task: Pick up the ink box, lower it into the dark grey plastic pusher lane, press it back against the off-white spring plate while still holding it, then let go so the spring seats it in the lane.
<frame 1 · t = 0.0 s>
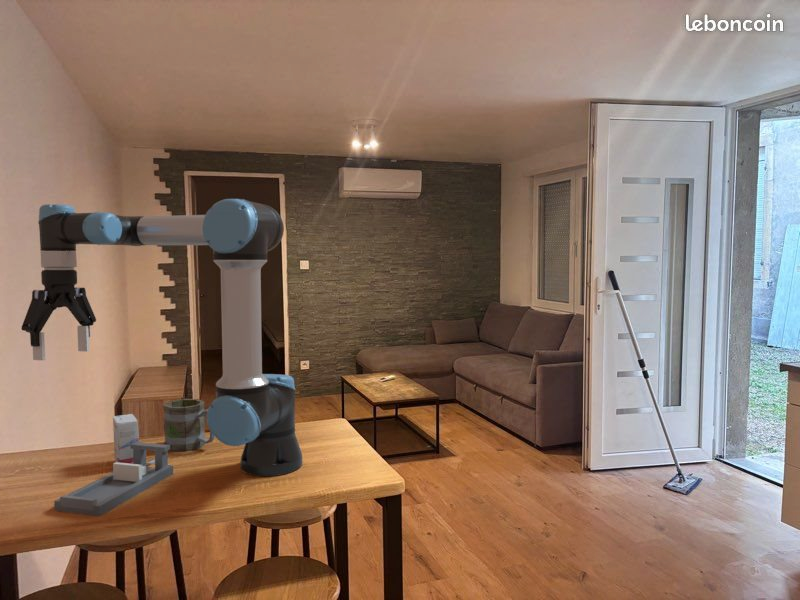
hand: (62, 355, 144), 28 cm above the table, fingers open, 13 cm apart
lane: (118, 490, 131), on the table
pusher: (143, 463, 139), point 3 cm above the table, slide at 0.0 cm
ink box: (127, 464, 148), on the table
mug: (192, 447, 161), on the table
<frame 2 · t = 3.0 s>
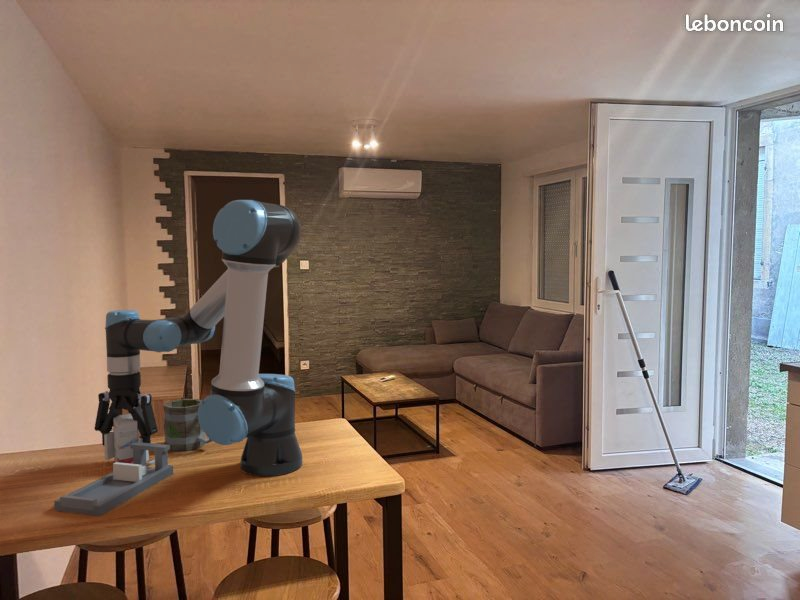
hand: (126, 459, 148), 1 cm above the table, fingers closed on ink box, 9 cm apart
ink box: (126, 464, 148), on the table, touching gripper
everything else where it was.
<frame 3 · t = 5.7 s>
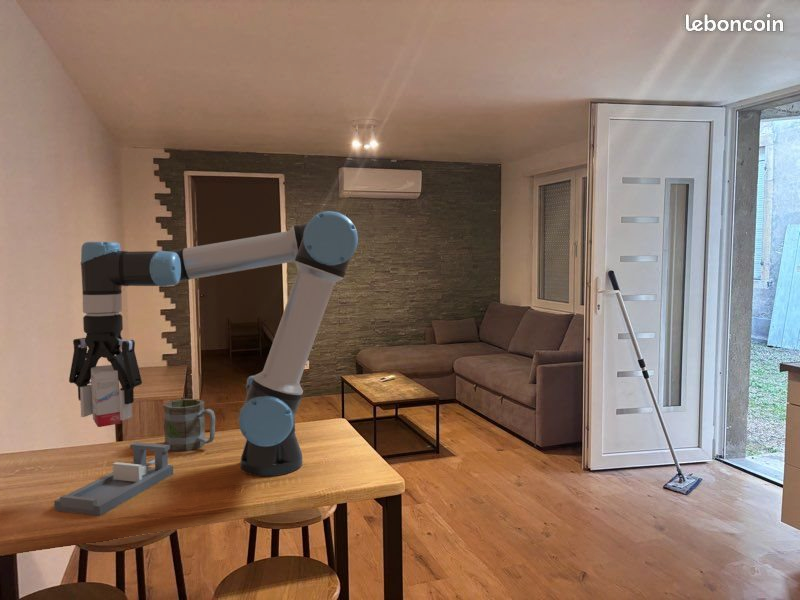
hand: (106, 416, 127), 17 cm above the table, fingers closed on ink box, 9 cm apart
ink box: (106, 422, 127), point 16 cm above the table, touching gripper
everything else where it was.
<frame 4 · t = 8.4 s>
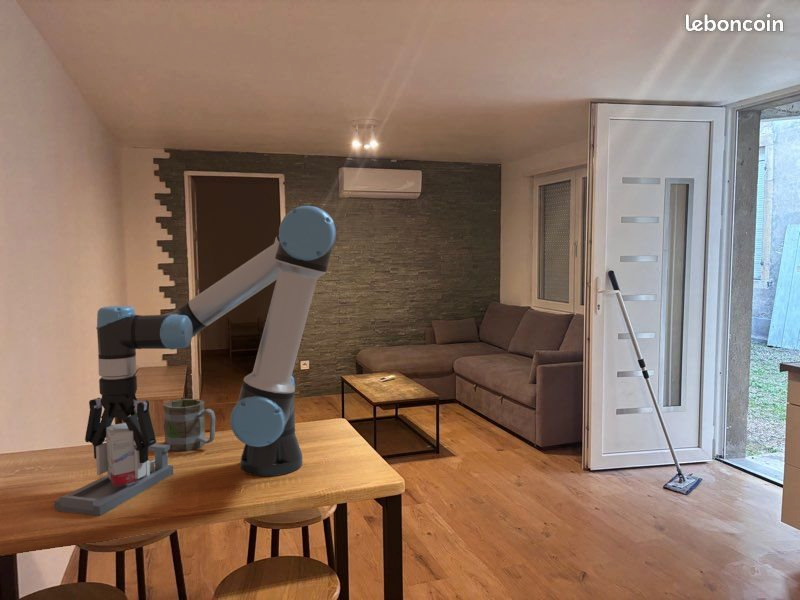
hand: (121, 474, 131), 3 cm above the table, fingers closed on ink box, 9 cm apart
pusher: (151, 460, 141), point 3 cm above the table, slide at 2.7 cm, touching ink box
ink box: (121, 480, 131), point 2 cm above the table, touching gripper, pusher
everything else where it was.
when the fingers open (3 cm above the table, at t = 8.8 s): ink box stays where it is, resting on lane, pusher.
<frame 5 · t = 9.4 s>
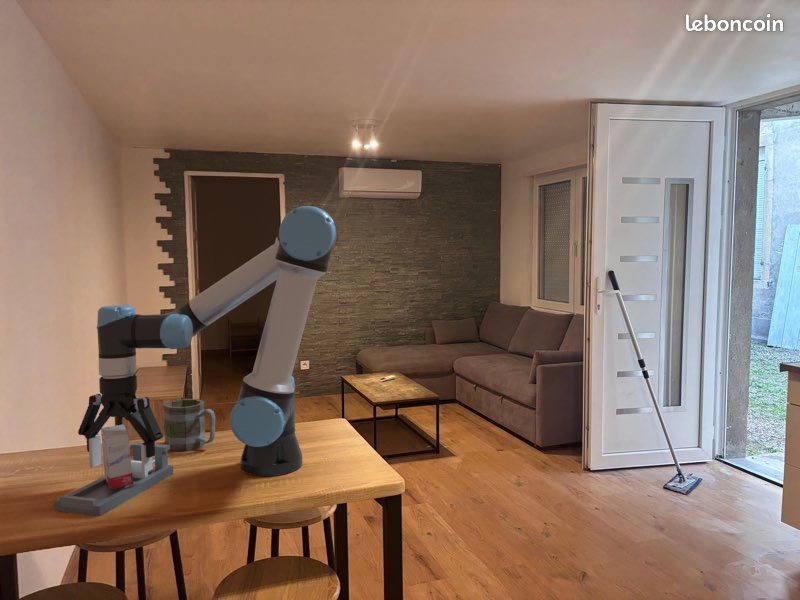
hand: (121, 468, 131), 5 cm above the table, fingers open, 13 cm apart
pusher: (149, 461, 141), point 3 cm above the table, slide at 2.0 cm, touching ink box
ink box: (118, 482, 131), point 2 cm above the table, touching lane, pusher
everything else where it was.
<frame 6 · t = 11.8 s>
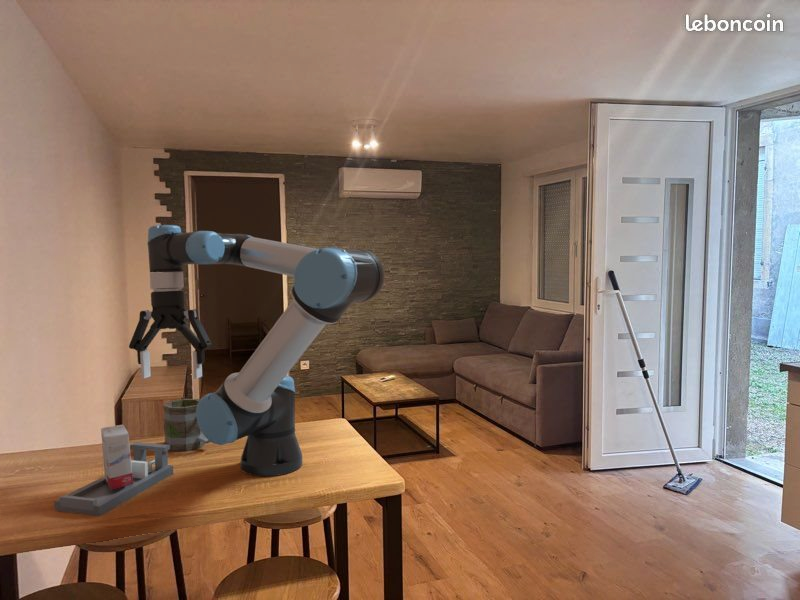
hand: (171, 377, 142), 23 cm above the table, fingers open, 13 cm apart
nothing on the table moved.
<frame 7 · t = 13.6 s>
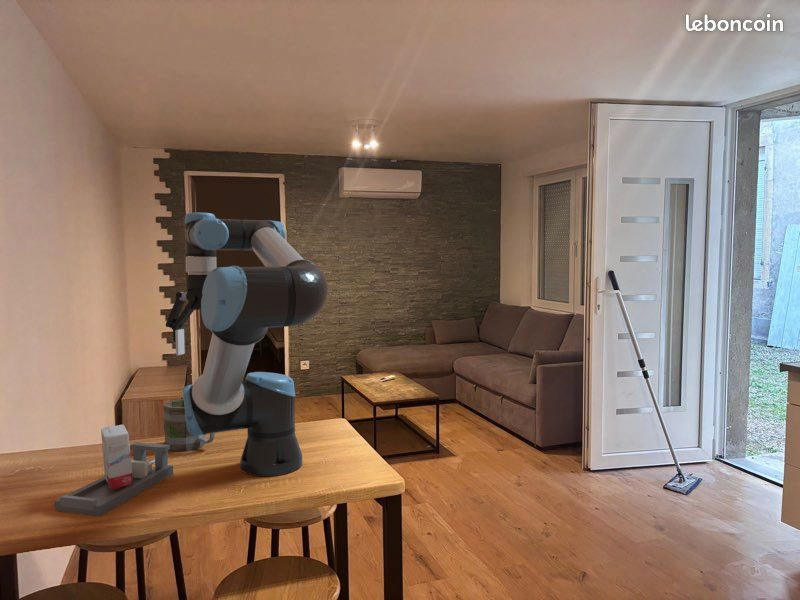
hand: (203, 355, 152), 27 cm above the table, fingers open, 13 cm apart
nothing on the table moved.
at the end: ink box inside the target area on the lane (2.3 cm from its centre), point 1.8 cm above the lane's base; ink box tilted 2°; pusher slide at 2.0 cm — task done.
